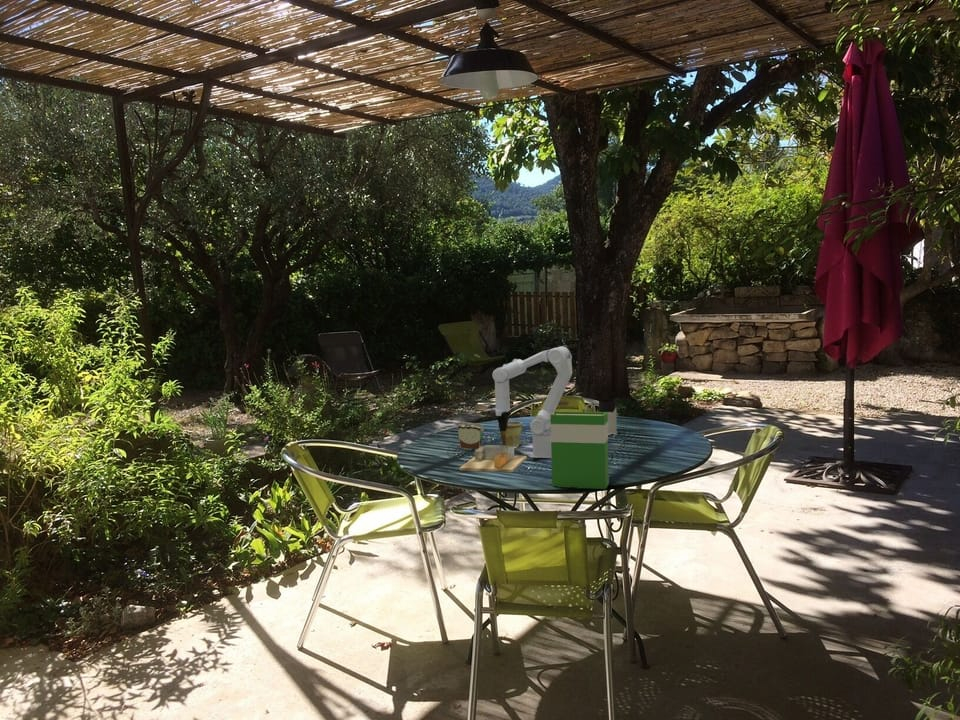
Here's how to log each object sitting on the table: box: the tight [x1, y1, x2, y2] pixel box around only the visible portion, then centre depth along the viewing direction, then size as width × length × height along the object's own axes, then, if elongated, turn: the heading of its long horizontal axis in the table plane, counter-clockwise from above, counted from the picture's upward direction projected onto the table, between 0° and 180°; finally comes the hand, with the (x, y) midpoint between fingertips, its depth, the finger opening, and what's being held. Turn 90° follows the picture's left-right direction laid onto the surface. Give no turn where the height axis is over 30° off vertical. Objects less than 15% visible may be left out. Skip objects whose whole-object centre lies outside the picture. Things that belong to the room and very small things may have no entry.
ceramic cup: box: [498, 420, 523, 448], centre depth 319 cm, size 13×10×10 cm
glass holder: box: [584, 399, 618, 435], centre depth 337 cm, size 9×14×15 cm, turn 89°
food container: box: [456, 422, 485, 451], centre depth 318 cm, size 12×6×10 cm, turn 59°
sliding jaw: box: [494, 447, 515, 468], centre depth 284 cm, size 2×20×4 cm, turn 163°
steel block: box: [483, 444, 506, 460], centre depth 290 cm, size 8×4×5 cm, turn 73°
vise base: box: [459, 445, 528, 473], centre depth 286 cm, size 20×23×5 cm
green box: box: [550, 410, 610, 490], centre depth 250 cm, size 18×7×24 cm, turn 72°
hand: (503, 430), depth 303 cm, fingers closed
